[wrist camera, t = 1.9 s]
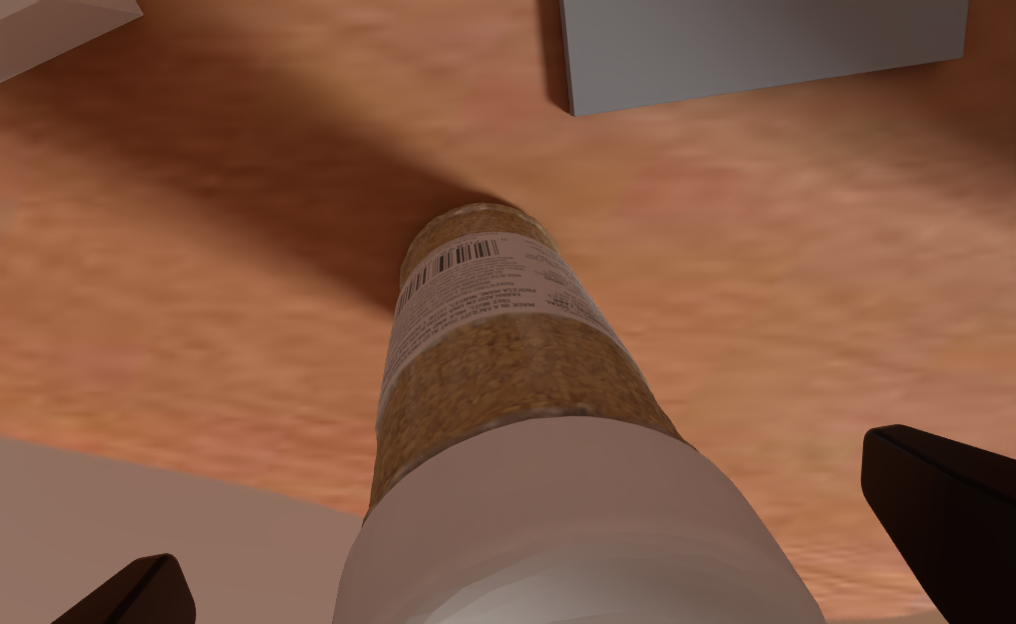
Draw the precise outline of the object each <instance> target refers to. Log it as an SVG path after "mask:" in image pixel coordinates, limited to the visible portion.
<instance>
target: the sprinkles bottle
mask: <svg viewBox="0 0 1016 624" xmlns="http://www.w3.org/2000/svg"><path fill="white" fill-rule="evenodd" d="M399 290H400V295H399V298H398V301H397V304H396V308H395V314H394V320H393V325H392V331H391V337H390V342H389V347H388V352H387V358H386V364H385V369H384V375H383V381H382V387H381V393H380V399H379V405H378V412H377V419H376V426H375V431H376V437H377V456H376V461H375V467H374V477H373V483H372V489H371V498H370V504H369V509H368V511H367V513H366V515H365V518H364V520H363V524H362V528H361V531H360V532H359V534H358V536H357V538H356V540H355V542H354V544H353V546H352V547H351V550H350V552H349V555H348V557H347V560H346V562H345V565H344V569H343V572H342V576H341V580H340V583H339V588H338V594H337V599H336V605H335V610H334V616H333V621H332V624H826V621H825V619H824V617H823V614H822V612H821V610H820V608H819V605H818V604H817V602H816V601H815V599H814V598H813V596H812V595H811V593H810V592H809V590H808V589H807V587H806V586H805V584H804V583H803V581H802V580H801V578H800V577H799V575H798V574H797V572H796V570H795V569H794V567H793V566H792V564H791V563H790V561H789V560H788V558H787V557H786V555H785V554H784V552H783V551H782V549H781V548H780V546H779V545H778V544H777V542H776V541H775V539H774V538H773V536H772V535H771V534H770V532H769V531H768V529H767V528H766V526H765V525H764V524H763V522H762V521H761V519H760V518H759V516H758V515H757V514H756V512H755V511H754V510H753V508H752V507H751V505H750V504H749V503H748V501H747V500H746V499H745V497H744V496H743V495H742V493H741V492H740V491H739V490H738V488H737V487H736V486H735V485H734V484H733V482H732V481H731V480H730V479H729V478H728V477H727V476H726V475H725V474H724V473H723V472H722V471H721V470H720V469H719V468H718V467H717V466H715V465H714V464H713V463H712V462H711V461H710V460H709V459H707V458H706V457H705V456H703V455H702V454H700V453H699V452H698V451H697V450H696V448H695V447H694V446H692V445H691V444H689V443H688V442H687V441H685V440H684V439H683V438H682V437H681V436H680V435H679V433H678V432H677V431H676V429H675V426H674V425H673V423H672V422H671V420H670V419H669V418H668V416H667V415H666V414H665V413H664V412H663V410H662V409H661V408H660V406H659V405H658V404H657V402H656V400H655V398H654V395H653V393H652V392H651V391H650V388H649V385H648V383H647V381H646V379H645V377H644V375H643V373H642V372H641V370H640V368H639V367H638V365H637V364H636V362H635V361H634V359H633V358H632V356H631V355H630V353H629V352H628V350H627V349H626V348H625V346H624V345H623V343H622V342H621V341H620V339H619V338H618V337H617V335H616V334H615V332H614V331H613V329H612V328H611V326H610V325H609V323H608V322H607V320H606V319H605V317H604V316H603V315H602V313H601V312H600V310H599V309H598V307H597V306H596V304H595V303H594V301H593V300H592V298H591V297H590V295H589V294H588V292H587V291H586V289H585V288H584V287H583V285H582V284H581V282H580V281H579V279H578V278H577V276H576V275H575V274H574V272H573V271H572V269H571V268H570V267H569V265H568V264H567V263H566V262H565V261H564V260H563V259H562V258H561V254H560V251H559V249H558V247H557V244H556V243H555V241H554V239H553V238H552V236H551V235H550V233H549V232H548V231H547V230H546V229H545V228H544V227H543V226H542V225H541V224H540V223H539V222H538V221H537V220H536V219H535V218H533V217H531V216H529V215H527V214H525V213H523V212H522V211H520V210H518V209H515V208H513V207H509V206H506V205H502V204H493V203H471V204H466V205H464V206H462V207H457V208H453V209H451V210H449V211H447V212H446V213H445V214H443V215H440V216H437V217H435V218H434V219H433V220H431V221H430V222H429V223H428V224H427V225H426V226H425V227H424V228H423V229H422V230H421V231H420V232H419V233H418V234H417V236H416V237H415V238H414V240H413V241H412V242H411V244H410V246H409V249H408V251H407V254H406V257H405V259H404V262H403V263H402V265H401V270H400V280H399Z"/></svg>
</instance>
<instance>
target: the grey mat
mask: <svg viewBox="0 0 1016 624" xmlns="http://www.w3.org/2000/svg"><path fill="white" fill-rule="evenodd" d="M968 5H969V0H559V6H560V16H561V26H562V36H563V46H564V56H565V66H566V77H567V87H568V97H569V107H570V115H571V116H574V117H576V116H583V115H589V114H596V113H602V112H609V111H615V110H622V109H629V108H635V107H642V106H648V105H655V104H662V103H668V102H675V101H681V100H688V99H694V98H701V97H708V96H714V95H721V94H727V93H734V92H740V91H747V90H754V89H760V88H767V87H773V86H780V85H787V84H793V83H800V82H806V81H813V80H819V79H826V78H833V77H839V76H846V75H852V74H859V73H865V72H872V71H879V70H885V69H892V68H898V67H905V66H912V65H918V64H925V63H931V62H938V61H944V60H951V59H958V58H963V52H964V42H965V33H966V24H967V14H968Z"/></svg>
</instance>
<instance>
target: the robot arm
mask: <svg viewBox="0 0 1016 624" xmlns="http://www.w3.org/2000/svg"><path fill="white" fill-rule="evenodd" d="M861 487H862V491H863V494H864V496H865V499H866V501H867V502H868V504H869V505H870V507H871V509H872V510H873V512H874V513H875V515H876V516H877V518H878V519H879V521H880V522H881V524H882V526H883V527H884V529H885V530H886V532H887V533H888V535H889V536H890V538H891V540H892V541H893V543H894V544H895V546H896V547H897V549H898V550H899V552H900V553H901V555H902V557H903V558H904V560H905V561H906V563H907V564H908V566H909V567H910V569H911V570H912V572H913V574H914V575H915V577H916V578H917V580H918V581H919V583H920V584H921V586H922V587H923V589H924V590H925V592H926V593H927V595H928V596H929V598H930V599H931V600H932V602H933V603H934V605H935V606H936V607H937V609H938V610H939V611H940V612H941V614H942V615H943V616H944V618H945V619H946V620H947V622H948V623H949V624H1016V459H1012V458H1009V457H1006V456H1003V455H999V454H996V453H993V452H990V451H986V450H983V449H980V448H977V447H973V446H970V445H967V444H964V443H960V442H957V441H954V440H951V439H947V438H944V437H941V436H938V435H934V434H931V433H928V432H925V431H922V430H918V429H915V428H912V427H909V426H905V425H901V424H894V425H888V426H882V427H877V428H872V429H870V430H869V431H867V432H866V434H865V436H864V441H863V454H862V469H861ZM195 621H196V608H195V603H194V600H193V597H192V595H191V592H190V590H189V587H188V585H187V582H186V580H185V577H184V575H183V572H182V570H181V567H180V565H179V563H178V561H177V559H176V558H175V557H174V556H173V555H171V554H168V553H165V554H159V555H154V556H148V557H142V558H138V559H136V560H134V561H133V562H131V563H130V564H129V565H127V566H126V567H125V568H123V569H122V570H121V571H119V572H118V573H117V574H115V575H114V576H113V577H112V578H110V579H109V580H108V581H106V582H105V583H104V584H102V585H101V586H100V587H98V588H97V589H96V590H95V591H93V592H92V593H90V594H89V595H88V596H86V597H85V598H84V599H82V600H81V601H80V602H78V603H77V604H76V605H75V606H73V607H72V608H71V609H69V610H68V611H67V612H66V613H64V614H63V615H61V616H60V617H59V618H57V619H56V620H55V621H53V622H52V623H51V624H195Z"/></svg>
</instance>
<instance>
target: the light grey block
mask: <svg viewBox="0 0 1016 624" xmlns="http://www.w3.org/2000/svg"><path fill="white" fill-rule="evenodd" d="M143 15H144V14H143V12H142V11H141V9H140V7H139V6H138V4H137V2H136V0H0V83H1V82H4V81H6V80H8V79H10V78H12V77H14V76H16V75H18V74H20V73H23V72H25V71H27V70H29V69H31V68H33V67H35V66H37V65H39V64H42V63H44V62H46V61H48V60H50V59H52V58H54V57H56V56H58V55H61V54H63V53H65V52H67V51H69V50H71V49H73V48H75V47H77V46H80V45H82V44H84V43H86V42H88V41H90V40H92V39H94V38H96V37H98V36H101V35H103V34H105V33H107V32H109V31H111V30H113V29H115V28H117V27H120V26H122V25H124V24H126V23H128V22H130V21H132V20H134V19H136V18H139V17H141V16H143Z"/></svg>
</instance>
